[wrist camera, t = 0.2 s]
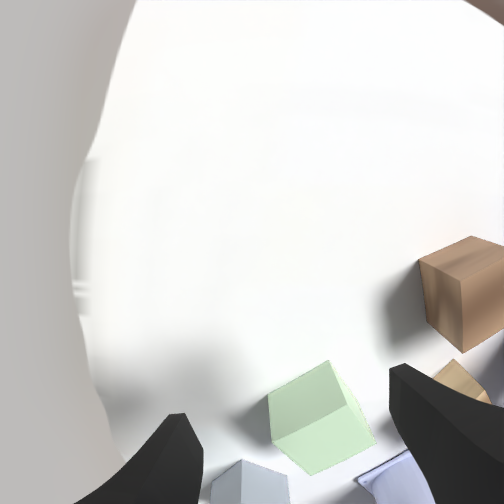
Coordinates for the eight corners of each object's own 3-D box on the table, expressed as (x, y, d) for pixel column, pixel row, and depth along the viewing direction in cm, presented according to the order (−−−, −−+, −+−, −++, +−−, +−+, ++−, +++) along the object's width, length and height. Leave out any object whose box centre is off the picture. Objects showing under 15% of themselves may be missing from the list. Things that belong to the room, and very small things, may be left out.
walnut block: (475, 296, 19) (515, 320, 14) (426, 321, 20) (462, 353, 15) (470, 235, 18) (515, 250, 13) (417, 258, 19) (460, 281, 14)
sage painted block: (356, 399, 21) (376, 443, 16) (301, 429, 22) (310, 476, 17) (328, 359, 20) (347, 404, 15) (267, 393, 21) (271, 442, 16)
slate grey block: (286, 474, 23) (291, 516, 18) (254, 496, 24) (255, 534, 19) (242, 458, 22) (241, 502, 18) (212, 480, 23) (207, 521, 18)
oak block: (469, 384, 21) (496, 414, 16) (429, 420, 22) (452, 454, 17) (453, 358, 21) (484, 389, 16) (408, 398, 21) (433, 436, 16)
